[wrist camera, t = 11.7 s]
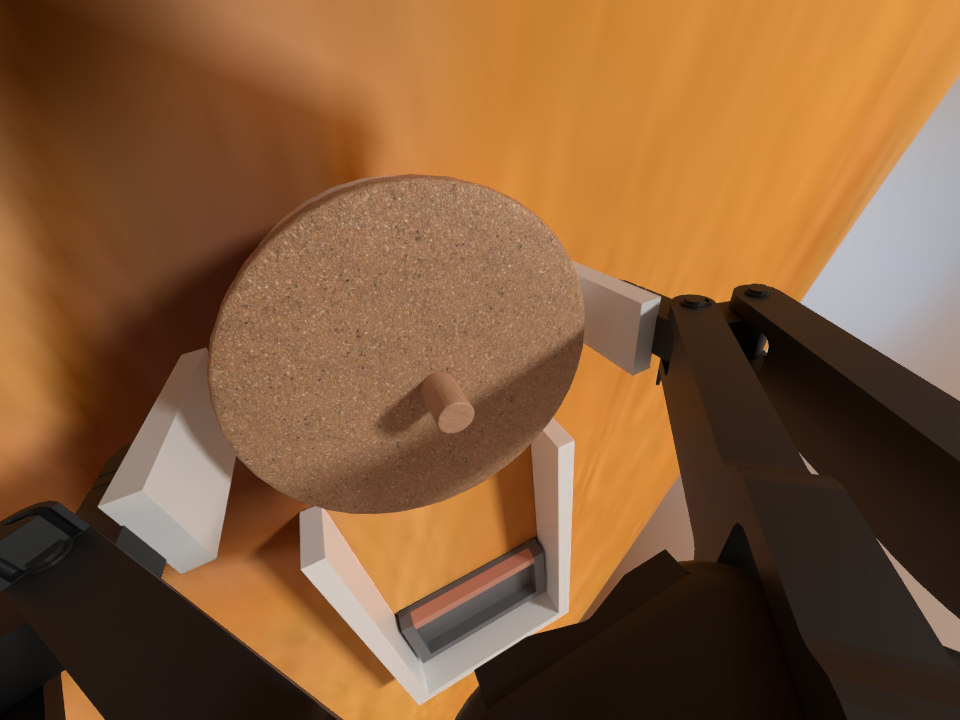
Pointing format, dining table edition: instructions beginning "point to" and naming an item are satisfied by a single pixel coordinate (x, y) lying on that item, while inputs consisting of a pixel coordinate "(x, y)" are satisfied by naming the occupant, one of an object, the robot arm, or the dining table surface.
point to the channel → (381, 631)
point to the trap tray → (473, 601)
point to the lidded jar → (395, 343)
